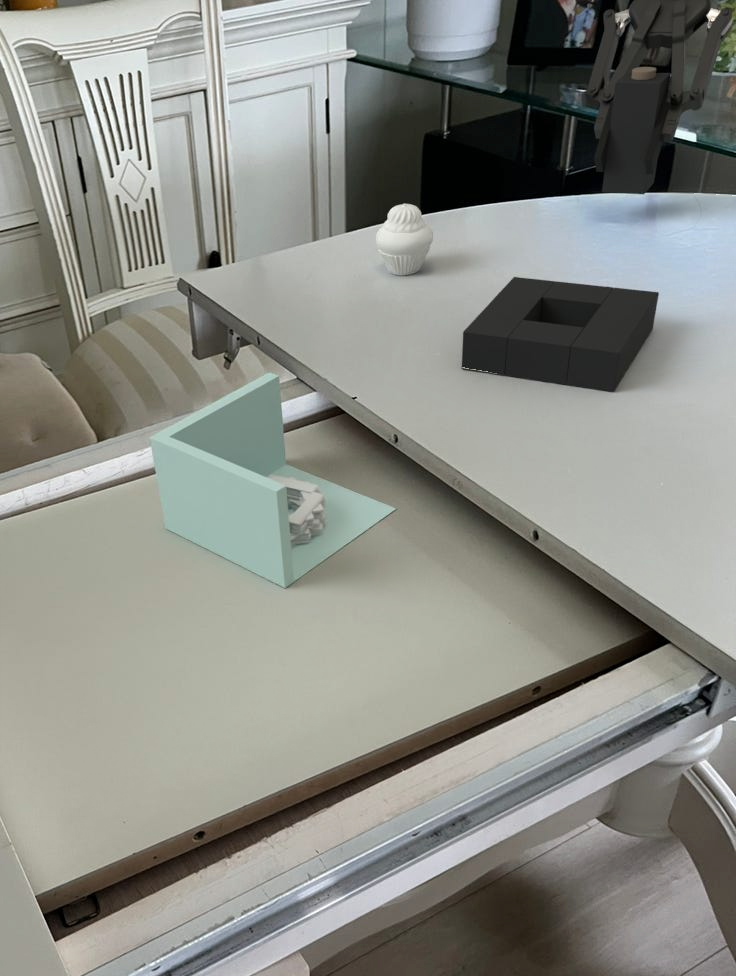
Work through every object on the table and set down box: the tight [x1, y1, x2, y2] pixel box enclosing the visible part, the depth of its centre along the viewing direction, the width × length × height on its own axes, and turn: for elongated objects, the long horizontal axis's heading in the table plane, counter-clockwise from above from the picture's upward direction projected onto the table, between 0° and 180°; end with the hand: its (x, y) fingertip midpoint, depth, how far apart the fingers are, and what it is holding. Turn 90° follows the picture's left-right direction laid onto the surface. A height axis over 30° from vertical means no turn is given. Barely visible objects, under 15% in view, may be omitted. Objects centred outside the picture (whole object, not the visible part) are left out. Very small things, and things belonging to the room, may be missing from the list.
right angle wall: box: [149, 372, 397, 589], centre depth 71 cm, size 12×12×8 cm
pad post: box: [601, 66, 671, 195], centre depth 109 cm, size 5×5×12 cm
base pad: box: [461, 276, 660, 393], centre depth 89 cm, size 13×13×4 cm
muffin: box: [375, 202, 434, 276], centre depth 106 cm, size 6×6×7 cm
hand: (623, 165), depth 108 cm, fingers closed on pad post, 5 cm apart
